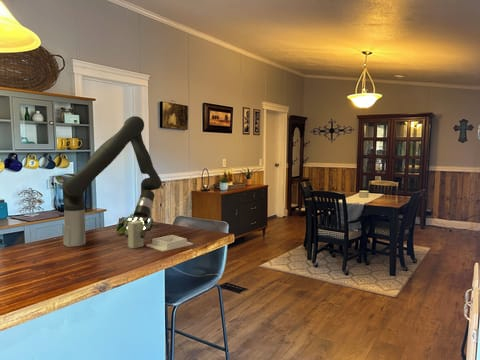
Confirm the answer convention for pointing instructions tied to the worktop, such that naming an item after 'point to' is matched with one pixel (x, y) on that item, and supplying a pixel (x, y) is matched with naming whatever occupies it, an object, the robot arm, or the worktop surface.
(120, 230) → the green bumpy clump
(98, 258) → the worktop surface
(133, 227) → the skincare box
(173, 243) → the holder
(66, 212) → the robot arm
